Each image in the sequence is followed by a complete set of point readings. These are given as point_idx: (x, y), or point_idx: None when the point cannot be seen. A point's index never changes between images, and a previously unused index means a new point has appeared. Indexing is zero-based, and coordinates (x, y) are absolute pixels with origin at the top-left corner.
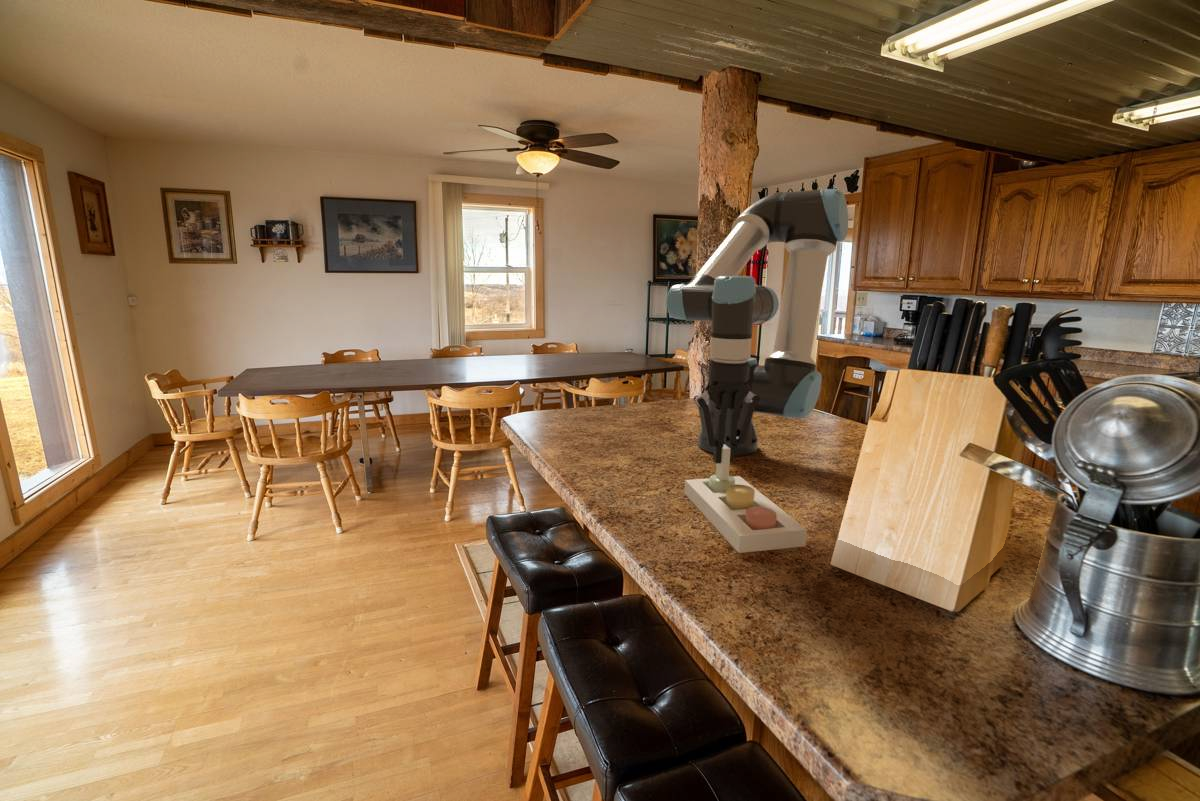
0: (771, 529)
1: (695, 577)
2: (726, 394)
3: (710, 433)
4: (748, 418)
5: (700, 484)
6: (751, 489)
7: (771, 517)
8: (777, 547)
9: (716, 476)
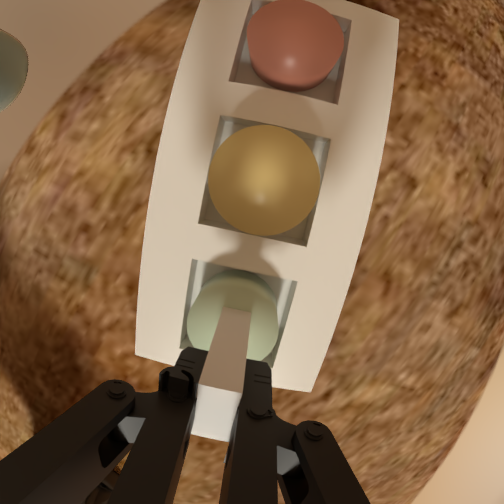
0: None
1: (483, 37)
2: None
3: (335, 479)
4: (15, 477)
5: (290, 353)
6: (221, 163)
7: (288, 2)
8: None
9: None
